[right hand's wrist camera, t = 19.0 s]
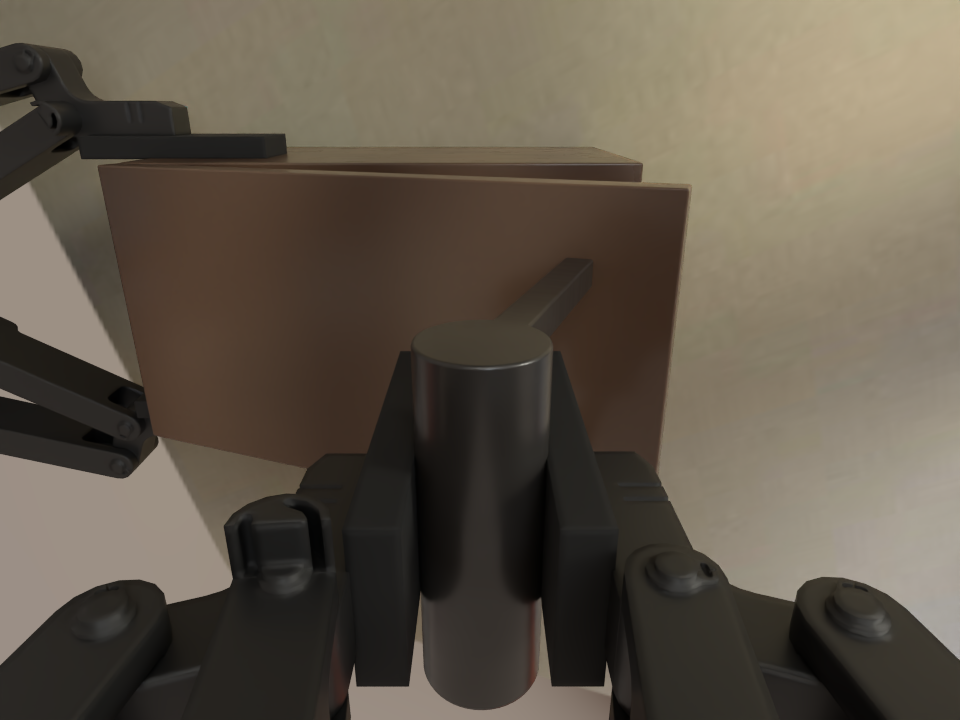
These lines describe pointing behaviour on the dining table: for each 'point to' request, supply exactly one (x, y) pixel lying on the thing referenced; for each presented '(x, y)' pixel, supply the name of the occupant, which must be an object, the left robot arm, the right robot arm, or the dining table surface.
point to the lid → (410, 327)
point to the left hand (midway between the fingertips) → (290, 279)
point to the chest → (442, 162)
